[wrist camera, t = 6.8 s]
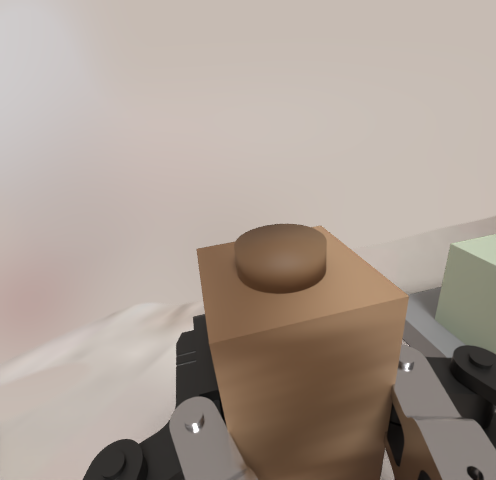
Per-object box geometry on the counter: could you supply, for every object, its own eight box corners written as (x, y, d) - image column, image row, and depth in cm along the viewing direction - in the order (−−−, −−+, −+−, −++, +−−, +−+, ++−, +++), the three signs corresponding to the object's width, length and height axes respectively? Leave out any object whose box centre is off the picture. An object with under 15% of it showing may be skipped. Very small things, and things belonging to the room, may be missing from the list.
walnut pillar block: (320, 410, 15) (320, 203, 10) (373, 522, 11) (414, 264, 6) (233, 435, 14) (192, 226, 9) (256, 564, 10) (202, 311, 5)
